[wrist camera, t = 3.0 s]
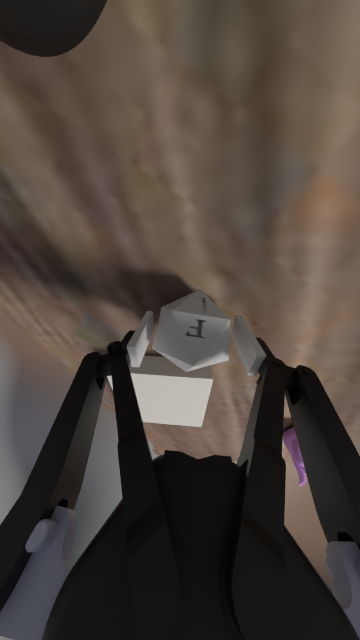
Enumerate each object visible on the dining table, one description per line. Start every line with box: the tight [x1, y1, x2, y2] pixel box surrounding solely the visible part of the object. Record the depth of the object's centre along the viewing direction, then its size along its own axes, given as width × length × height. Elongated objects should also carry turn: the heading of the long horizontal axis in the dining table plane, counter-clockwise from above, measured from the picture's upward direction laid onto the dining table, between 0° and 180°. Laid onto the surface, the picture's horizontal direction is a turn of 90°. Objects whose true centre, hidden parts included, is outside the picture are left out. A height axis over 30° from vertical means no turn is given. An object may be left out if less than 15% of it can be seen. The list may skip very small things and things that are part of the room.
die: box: [152, 289, 230, 372], centre depth 16 cm, size 8×9×10 cm
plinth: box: [107, 356, 213, 427], centre depth 29 cm, size 18×18×4 cm
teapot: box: [283, 427, 306, 486], centre depth 34 cm, size 15×14×10 cm
